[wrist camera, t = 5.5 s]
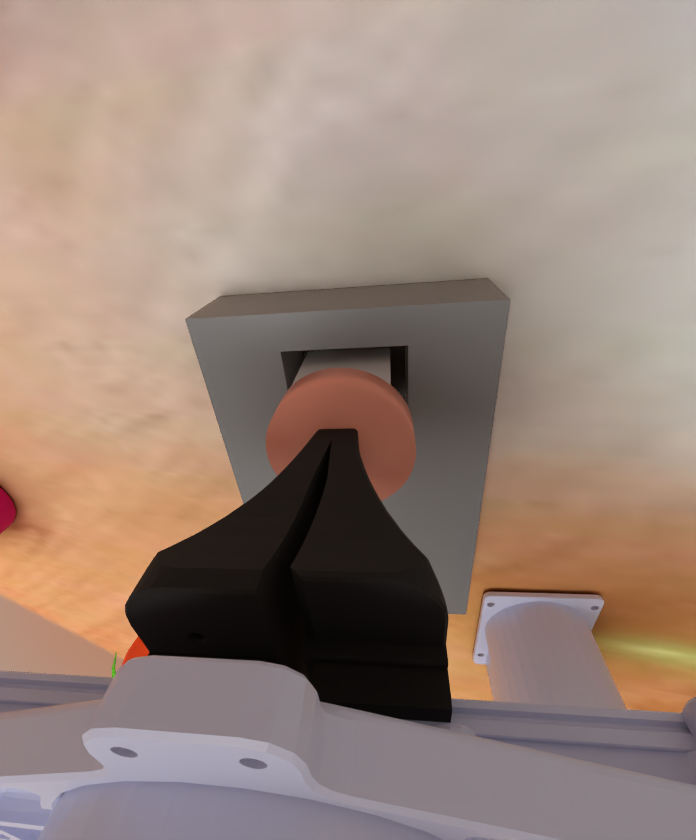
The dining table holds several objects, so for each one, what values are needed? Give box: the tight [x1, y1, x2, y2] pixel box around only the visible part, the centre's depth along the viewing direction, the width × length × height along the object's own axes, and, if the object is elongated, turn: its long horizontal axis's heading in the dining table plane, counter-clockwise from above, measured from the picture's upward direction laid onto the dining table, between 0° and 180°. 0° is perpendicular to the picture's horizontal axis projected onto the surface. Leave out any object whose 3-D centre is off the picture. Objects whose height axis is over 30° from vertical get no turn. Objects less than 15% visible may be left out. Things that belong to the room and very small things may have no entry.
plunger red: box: [266, 348, 416, 501], centre depth 15 cm, size 5×5×5 cm
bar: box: [185, 278, 510, 614], centre depth 20 cm, size 19×12×4 cm, turn 5°
